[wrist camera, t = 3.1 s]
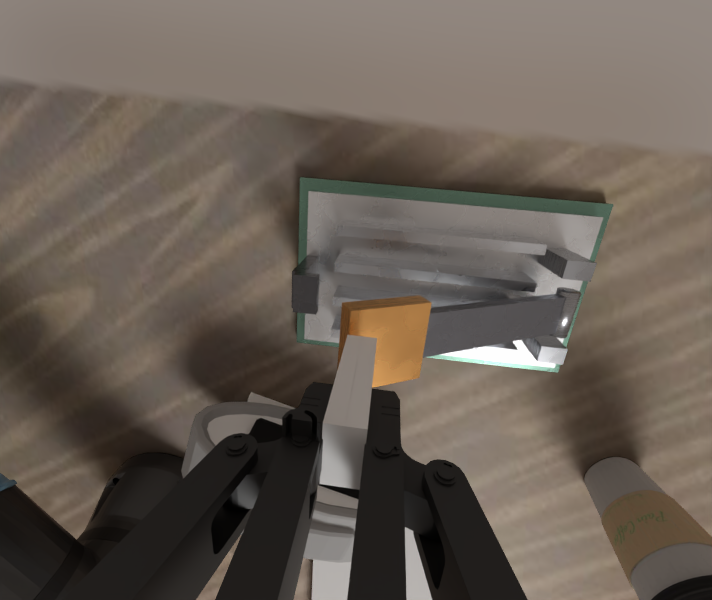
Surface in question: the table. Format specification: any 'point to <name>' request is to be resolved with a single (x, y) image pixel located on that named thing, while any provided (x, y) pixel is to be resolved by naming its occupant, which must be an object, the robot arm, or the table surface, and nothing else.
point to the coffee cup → (651, 533)
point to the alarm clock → (264, 423)
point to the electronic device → (335, 576)
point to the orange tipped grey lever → (449, 327)
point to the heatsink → (440, 256)
